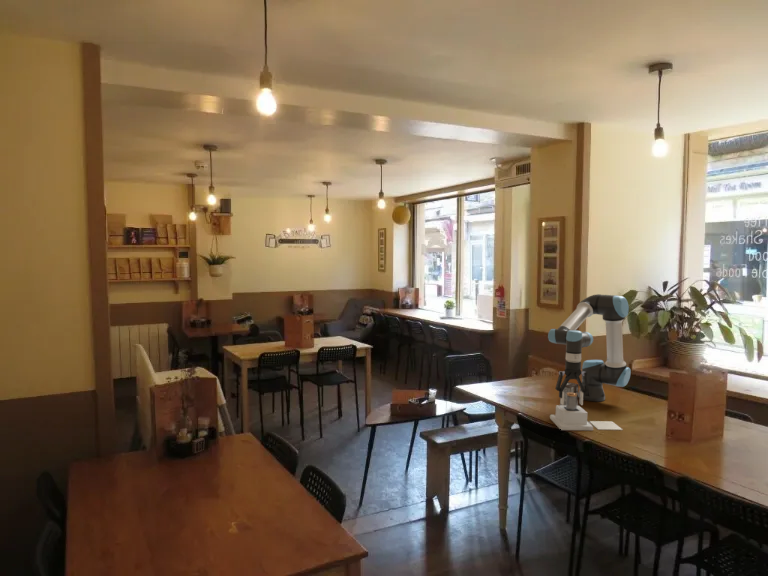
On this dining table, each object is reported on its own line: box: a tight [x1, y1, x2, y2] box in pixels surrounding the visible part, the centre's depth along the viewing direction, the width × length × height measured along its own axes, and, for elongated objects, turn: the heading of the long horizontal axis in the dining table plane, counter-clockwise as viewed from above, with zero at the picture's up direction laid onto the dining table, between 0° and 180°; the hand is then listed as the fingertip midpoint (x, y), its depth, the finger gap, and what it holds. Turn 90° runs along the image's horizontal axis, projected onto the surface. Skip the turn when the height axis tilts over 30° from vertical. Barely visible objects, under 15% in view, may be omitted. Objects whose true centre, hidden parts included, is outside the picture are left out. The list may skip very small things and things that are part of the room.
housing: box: [549, 404, 594, 431], centre depth 270 cm, size 18×16×8 cm
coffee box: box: [559, 381, 579, 406], centre depth 287 cm, size 9×6×16 cm
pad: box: [588, 420, 623, 431], centre depth 268 cm, size 12×12×1 cm
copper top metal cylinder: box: [566, 392, 577, 411], centre depth 269 cm, size 5×5×14 cm
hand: (571, 404), depth 269 cm, fingers open, 9 cm apart
